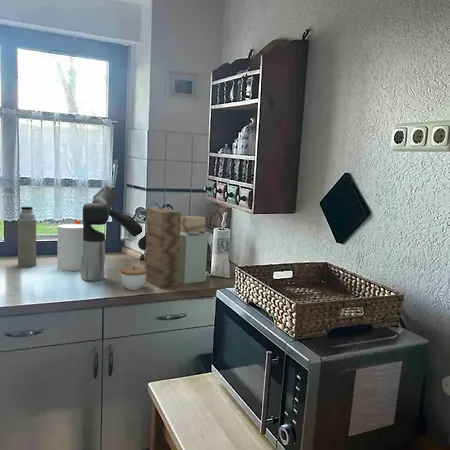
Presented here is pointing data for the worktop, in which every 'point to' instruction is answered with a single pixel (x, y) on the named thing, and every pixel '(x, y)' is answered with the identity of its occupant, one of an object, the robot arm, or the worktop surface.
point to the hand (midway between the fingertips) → (175, 217)
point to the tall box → (163, 247)
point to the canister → (69, 246)
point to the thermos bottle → (26, 238)
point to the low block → (192, 257)
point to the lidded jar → (133, 277)
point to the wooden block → (193, 223)
